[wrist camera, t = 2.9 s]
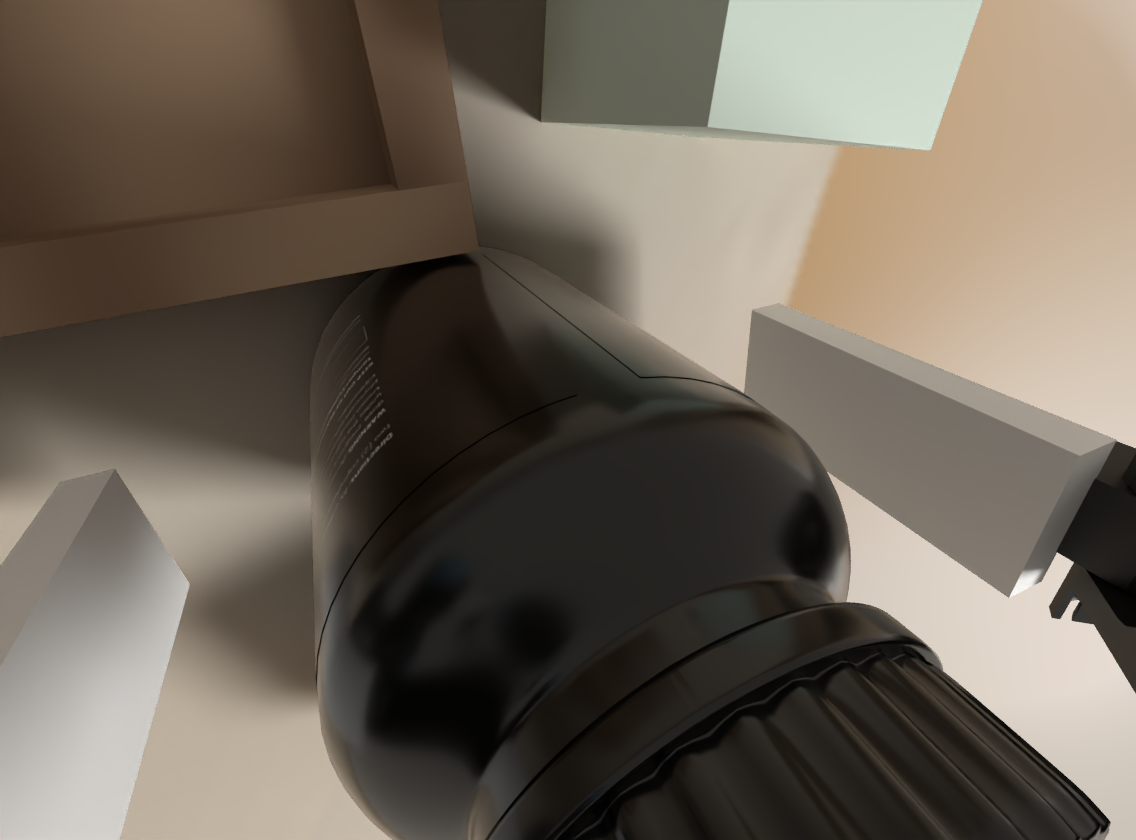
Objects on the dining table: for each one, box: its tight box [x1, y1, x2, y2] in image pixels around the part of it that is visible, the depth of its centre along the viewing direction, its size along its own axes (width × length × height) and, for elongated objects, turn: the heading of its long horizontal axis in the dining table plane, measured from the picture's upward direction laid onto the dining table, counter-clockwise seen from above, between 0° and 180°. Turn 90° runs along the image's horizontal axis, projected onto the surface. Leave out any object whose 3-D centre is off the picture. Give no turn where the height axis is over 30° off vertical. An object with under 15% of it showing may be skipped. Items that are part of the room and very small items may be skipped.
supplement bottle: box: [310, 246, 1110, 840], centre depth 9 cm, size 7×7×12 cm
